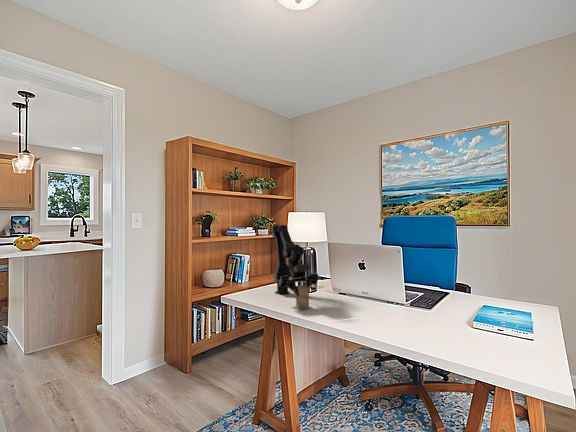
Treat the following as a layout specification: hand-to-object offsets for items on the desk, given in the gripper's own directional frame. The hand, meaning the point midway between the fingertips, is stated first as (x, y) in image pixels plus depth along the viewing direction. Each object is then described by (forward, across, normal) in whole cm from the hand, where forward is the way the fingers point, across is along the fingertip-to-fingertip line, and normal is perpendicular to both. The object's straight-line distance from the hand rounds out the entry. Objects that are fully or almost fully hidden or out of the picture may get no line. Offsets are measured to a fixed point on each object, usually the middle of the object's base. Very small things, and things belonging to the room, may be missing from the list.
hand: (303, 295), depth 144 cm
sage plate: (+1, +12, +8) cm, 14 cm away
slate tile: (+4, 0, +6) cm, 7 cm away
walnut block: (+3, 0, +5) cm, 6 cm away
